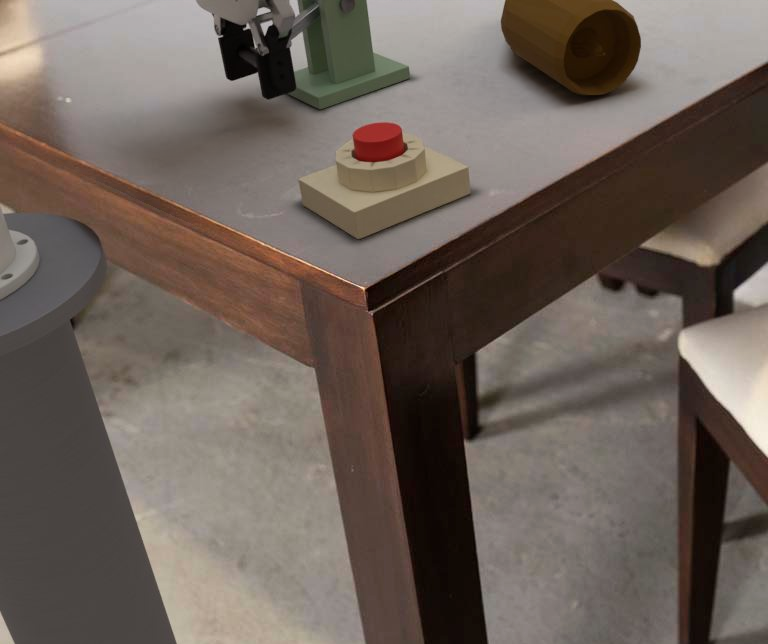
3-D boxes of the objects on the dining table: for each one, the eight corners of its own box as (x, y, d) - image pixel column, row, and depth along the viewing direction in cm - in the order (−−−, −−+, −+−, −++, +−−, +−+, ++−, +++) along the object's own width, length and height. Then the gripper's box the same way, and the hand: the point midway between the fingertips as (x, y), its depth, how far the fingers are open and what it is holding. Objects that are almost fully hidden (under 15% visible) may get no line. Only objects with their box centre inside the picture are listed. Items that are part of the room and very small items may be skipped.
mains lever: (269, 80, 98) (256, 57, 96) (243, 67, 101) (230, 45, 100) (362, 5, 99) (351, -18, 98) (334, -4, 103) (323, -27, 101)
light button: (372, 169, 79) (369, 146, 78) (346, 155, 82) (343, 132, 81) (413, 153, 80) (411, 130, 79) (386, 140, 83) (384, 117, 82)
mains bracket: (319, 110, 100) (302, 0, 94) (277, 89, 106) (259, -15, 100) (410, 78, 104) (399, -29, 98) (365, 60, 110) (351, -42, 104)
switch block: (358, 240, 78) (350, 188, 76) (302, 205, 84) (293, 156, 82) (470, 193, 82) (466, 143, 80) (410, 163, 88) (405, 115, 86)
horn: (523, 41, 116) (642, 117, 96) (439, 12, 112) (546, 86, 92) (554, -35, 113) (683, 28, 93) (469, -67, 108) (586, -9, 88)
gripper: (137, -128, 95) (184, 75, 105) (227, -107, 82) (270, 122, 92) (215, -147, 98) (253, 53, 108) (313, -129, 85) (345, 95, 95)
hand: (260, 83), depth 100 cm, fingers open, 6 cm apart
